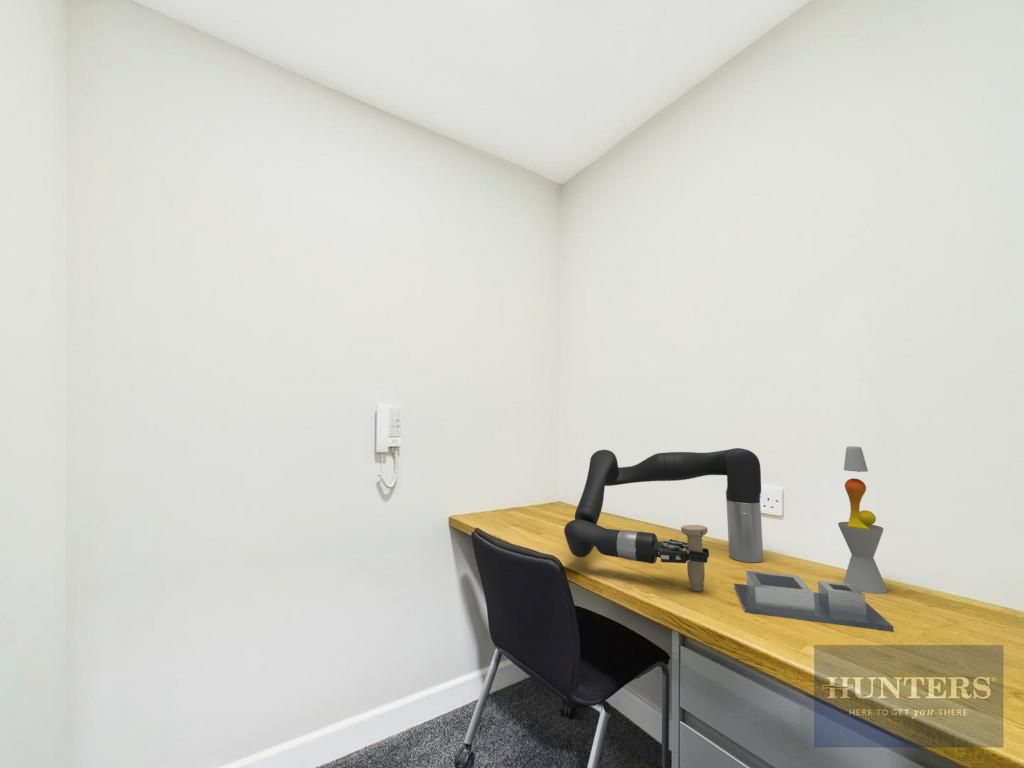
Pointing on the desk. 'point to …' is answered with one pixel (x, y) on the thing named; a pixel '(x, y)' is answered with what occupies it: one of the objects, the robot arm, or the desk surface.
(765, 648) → the desk surface
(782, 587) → the socket plate
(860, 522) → the stacked pieces
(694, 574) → the handle
